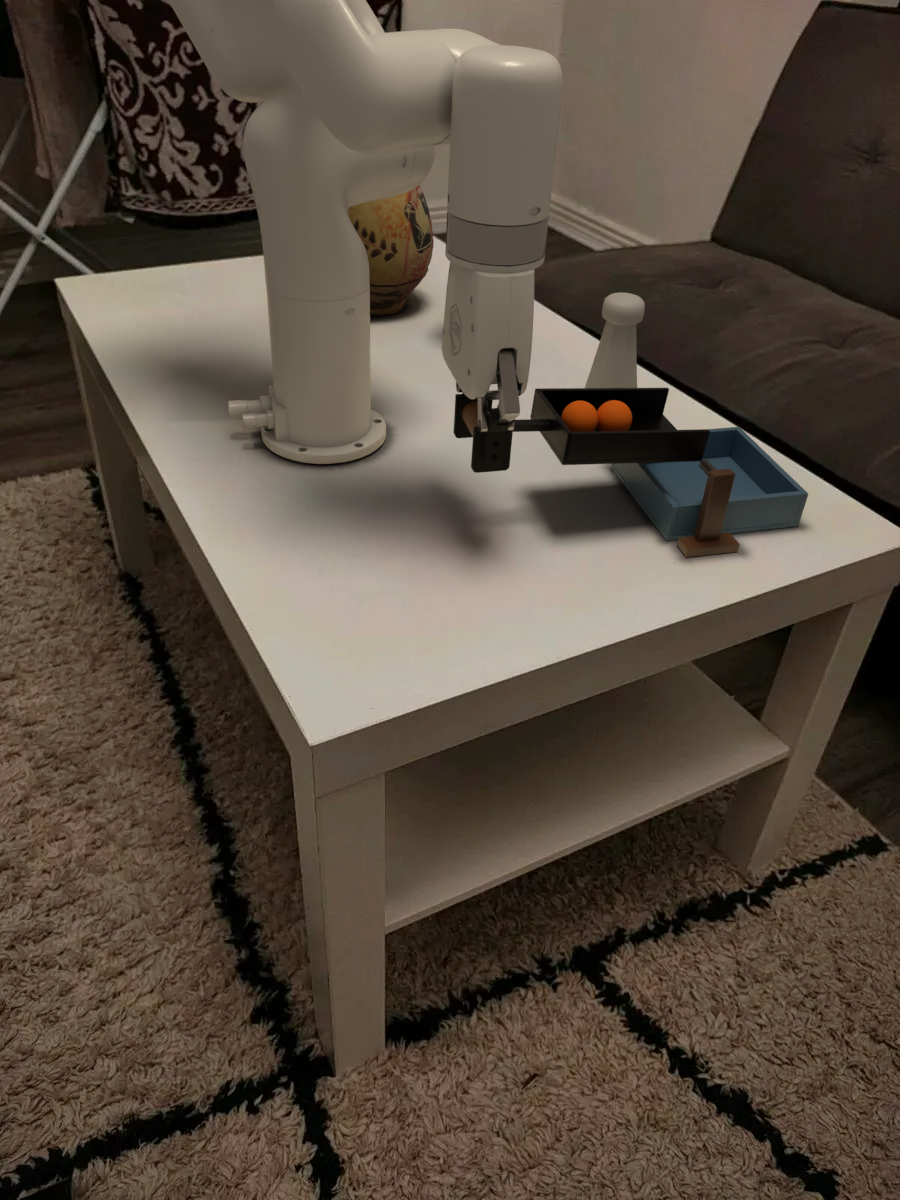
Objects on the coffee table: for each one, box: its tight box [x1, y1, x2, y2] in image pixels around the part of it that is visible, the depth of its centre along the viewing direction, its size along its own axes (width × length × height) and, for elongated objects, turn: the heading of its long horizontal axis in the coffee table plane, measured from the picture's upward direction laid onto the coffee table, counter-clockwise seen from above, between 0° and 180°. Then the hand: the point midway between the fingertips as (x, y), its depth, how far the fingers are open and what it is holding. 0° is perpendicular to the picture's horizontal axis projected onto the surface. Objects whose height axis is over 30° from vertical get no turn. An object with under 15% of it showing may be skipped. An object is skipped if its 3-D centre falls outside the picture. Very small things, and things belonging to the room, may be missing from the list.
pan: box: [462, 387, 710, 466], centre depth 84 cm, size 20×9×3 cm, turn 104°
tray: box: [611, 426, 809, 541], centre depth 91 cm, size 13×13×4 cm
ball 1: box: [561, 401, 598, 432], centre depth 83 cm, size 3×3×3 cm
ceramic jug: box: [348, 184, 435, 317], centre depth 120 cm, size 17×15×30 cm
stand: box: [676, 459, 740, 558], centre depth 89 cm, size 5×19×7 cm, turn 14°
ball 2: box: [597, 400, 632, 431], centre depth 84 cm, size 3×3×3 cm
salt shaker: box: [584, 292, 646, 388], centre depth 101 cm, size 6×6×13 cm
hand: (480, 450), depth 83 cm, fingers closed on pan, 5 cm apart
